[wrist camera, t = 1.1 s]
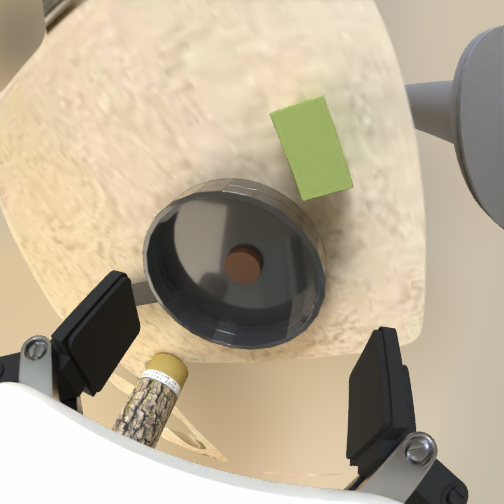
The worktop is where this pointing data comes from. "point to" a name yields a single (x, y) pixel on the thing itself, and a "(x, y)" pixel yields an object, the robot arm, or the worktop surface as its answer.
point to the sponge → (312, 148)
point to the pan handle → (143, 294)
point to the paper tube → (152, 400)
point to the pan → (215, 252)
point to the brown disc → (243, 265)
